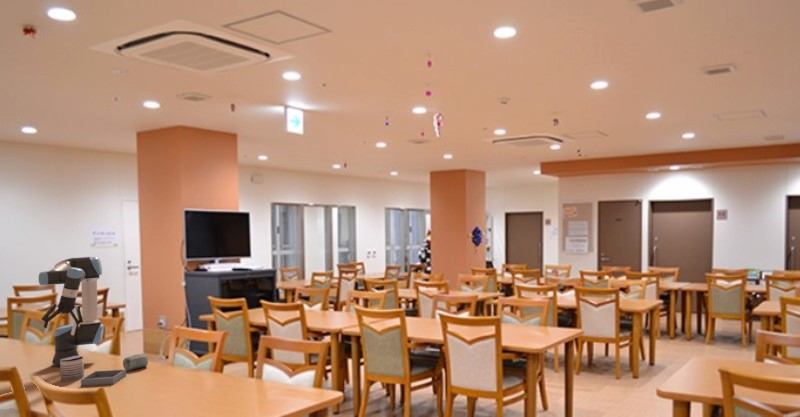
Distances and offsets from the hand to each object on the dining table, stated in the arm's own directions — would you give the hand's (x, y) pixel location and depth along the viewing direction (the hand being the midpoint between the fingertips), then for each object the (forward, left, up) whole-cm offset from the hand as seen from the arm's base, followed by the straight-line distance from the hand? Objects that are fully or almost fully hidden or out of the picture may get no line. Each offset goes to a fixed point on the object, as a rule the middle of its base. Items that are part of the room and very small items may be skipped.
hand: (58, 334), depth 317 cm
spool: (-20, +32, -26) cm, 46 cm away
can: (-6, +3, -26) cm, 27 cm away
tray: (+3, +24, -26) cm, 36 cm away
